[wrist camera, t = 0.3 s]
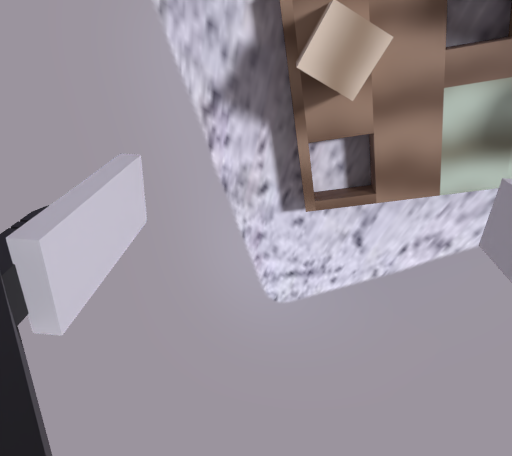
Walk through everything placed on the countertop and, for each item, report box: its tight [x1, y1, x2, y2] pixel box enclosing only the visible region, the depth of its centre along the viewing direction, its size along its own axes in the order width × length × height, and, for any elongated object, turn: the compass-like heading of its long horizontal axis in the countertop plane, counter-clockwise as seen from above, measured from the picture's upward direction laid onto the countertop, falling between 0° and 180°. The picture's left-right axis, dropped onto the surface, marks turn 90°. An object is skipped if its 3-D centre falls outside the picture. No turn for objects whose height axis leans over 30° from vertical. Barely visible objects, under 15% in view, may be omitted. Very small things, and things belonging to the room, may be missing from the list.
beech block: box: [296, 0, 393, 101], centre depth 31 cm, size 5×5×5 cm
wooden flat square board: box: [280, 0, 512, 212], centre depth 35 cm, size 20×20×2 cm
